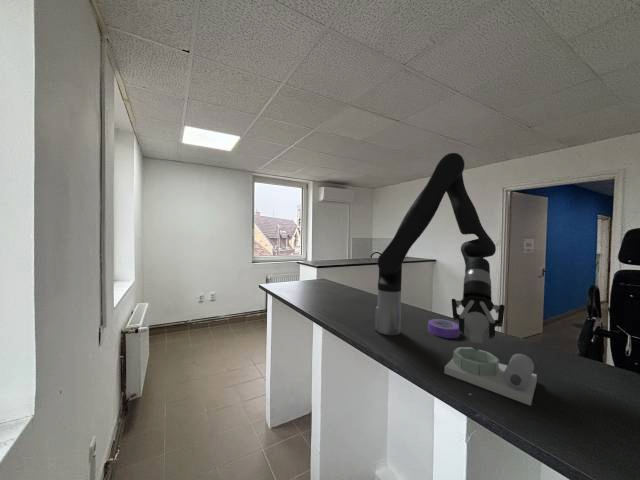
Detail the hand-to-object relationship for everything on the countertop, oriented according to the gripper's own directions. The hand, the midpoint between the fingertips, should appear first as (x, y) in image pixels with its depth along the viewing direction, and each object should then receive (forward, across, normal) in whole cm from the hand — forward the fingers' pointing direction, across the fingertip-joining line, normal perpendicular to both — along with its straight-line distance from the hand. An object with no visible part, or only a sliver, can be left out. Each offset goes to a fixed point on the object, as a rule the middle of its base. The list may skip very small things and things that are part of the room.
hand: (476, 335), depth 71 cm
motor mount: (+8, +3, +9) cm, 12 cm away
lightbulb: (+2, 0, +5) cm, 5 cm away
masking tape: (-13, -12, +30) cm, 35 cm away
